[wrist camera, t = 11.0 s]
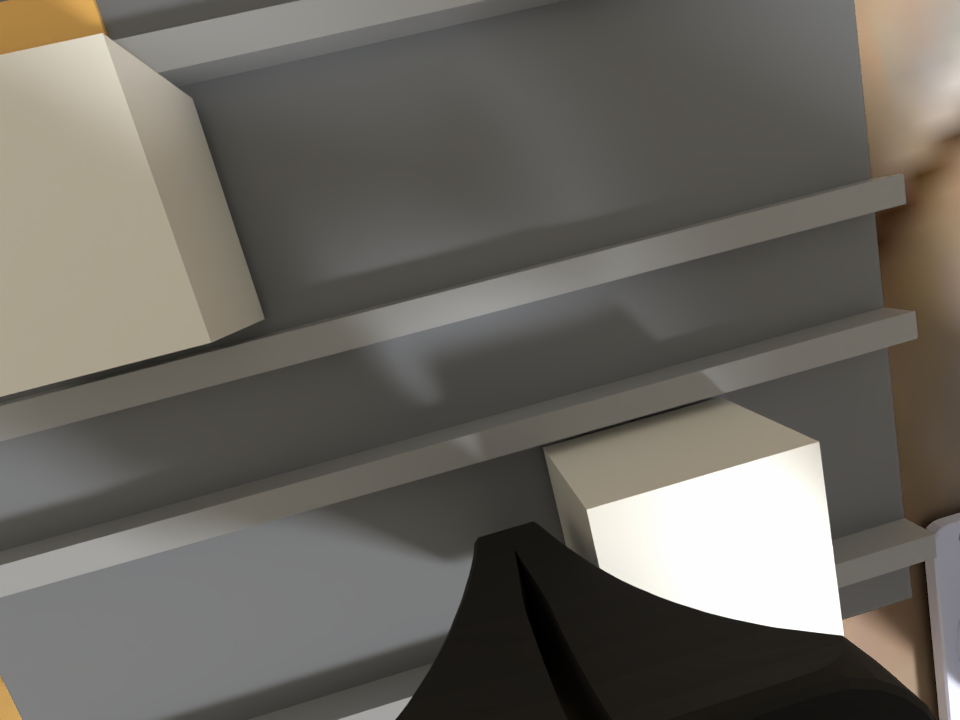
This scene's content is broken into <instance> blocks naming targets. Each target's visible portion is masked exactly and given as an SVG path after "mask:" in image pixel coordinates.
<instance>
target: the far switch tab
mask: <svg viewBox="0 0 960 720" xmlns="http://www.w3.org/2000/svg"><path fill="white" fill-rule="evenodd" d="M543 450H544V454H545V459H546V463H547V467H548V471H549V476H550V480H551V484H552V488H553V492H554V497H555V501H556V505H557V509H558V514H559V518H560V522H561V526H562V531H563V535H564V539H565V543H566V546H567V547H568V548H570V549H571V550H573V551H574V552H575V553H577V554H578V555H580V556H582V557H583V558H585V559H586V560H588V561H589V562H591V563H592V564H594V565H595V566H597V567H599V568H600V569H602V570H604V571H605V572H607V573H609V574H611V575H613V576H614V577H616V578H618V579H620V580H622V581H624V582H626V583H628V584H630V585H633V586H635V587H637V588H640V589H642V590H644V591H647V592H649V593H651V594H654V595H656V596H659V597H661V598H664V599H667V600H670V601H672V602H675V603H678V604H681V605H685V606H688V607H691V608H694V609H698V610H701V611H704V612H707V613H711V614H715V615H719V616H723V617H727V618H731V619H736V620H741V621H746V622H750V623H755V624H760V625H765V626H771V627H777V628H785V629H793V630H801V631H810V632H818V633H826V634H834V635H842V636H844V632H843V624H842V616H841V609H840V601H839V593H838V585H837V577H836V569H835V562H834V554H833V546H832V538H831V530H830V523H829V515H828V507H827V499H826V491H825V484H824V476H823V468H822V460H821V452H820V444H819V441H817V440H814V439H812V438H810V437H808V436H806V435H803V434H801V433H799V432H797V431H795V430H792V429H790V428H788V427H786V426H784V425H781V424H779V423H777V422H775V421H772V420H770V419H768V418H766V417H764V416H761V415H759V414H757V413H755V412H753V411H750V410H748V409H746V408H744V407H742V406H739V405H737V404H735V403H733V402H731V401H728V400H726V399H724V398H722V397H719V398H716V399H712V400H709V401H705V402H702V403H698V404H694V405H691V406H687V407H684V408H680V409H677V410H673V411H670V412H666V413H663V414H659V415H656V416H652V417H648V418H645V419H641V420H638V421H634V422H631V423H627V424H624V425H620V426H617V427H613V428H610V429H606V430H602V431H599V432H595V433H592V434H588V435H585V436H581V437H578V438H574V439H571V440H567V441H564V442H560V443H556V444H553V445H549V446H546V447H543Z"/></svg>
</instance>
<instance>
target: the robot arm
mask: <svg viewBox="0 0 960 720" xmlns="http://www.w3.org/2000/svg"><path fill="white" fill-rule="evenodd" d="M926 530H928V531H930V532H932V533H934V534H935V542H936V554H937V558H933V559H930V560H927V561H925V566H926V577H927V588H928V599H929V610H930V621H931V632H932V643H933V654H934V665H935V676H936V687H937V698H938V709H939V720H960V513H956V514H953V515H950V516H947V517H943V518H940V519H937V520H935V521H933V522H932V523H930V524H929V525H928V526H927V527H926ZM395 720H936V718H935V717H934V715H933V714H932V712H931V711H930V709H929V708H928V706H927V705H926V704H925V703H924V702H923V701H922V700H920V699H919V698H918V697H917V696H916V695H915V694H914V693H912V692H911V691H910V690H909V689H908V688H907V687H906V686H904V685H903V684H902V683H901V682H900V681H899V680H898V679H897V678H896V677H894V676H893V675H892V674H891V673H890V672H889V671H887V670H886V669H885V668H884V667H883V666H881V665H880V664H879V663H878V662H877V661H876V660H874V659H873V658H872V657H870V656H869V655H867V654H866V653H865V652H863V651H862V650H861V649H859V648H858V647H857V646H855V645H854V644H853V643H852V642H850V641H849V640H848V639H846V638H845V637H844V636H842V635H834V634H826V633H818V632H810V631H801V630H793V629H785V628H777V627H771V626H765V625H760V624H755V623H750V622H746V621H741V620H736V619H731V618H727V617H723V616H719V615H715V614H711V613H707V612H704V611H701V610H698V609H694V608H691V607H688V606H685V605H681V604H678V603H675V602H672V601H670V600H667V599H664V598H661V597H659V596H656V595H654V594H651V593H649V592H647V591H644V590H642V589H640V588H637V587H635V586H633V585H630V584H628V583H626V582H624V581H622V580H620V579H618V578H616V577H614V576H613V575H611V574H609V573H607V572H605V571H604V570H602V569H600V568H599V567H597V566H595V565H594V564H592V563H591V562H589V561H588V560H586V559H585V558H583V557H582V556H580V555H578V554H577V553H575V552H574V551H573V550H571V549H570V548H568V547H567V546H566V545H564V544H563V543H561V542H560V541H559V540H557V539H556V538H555V537H554V536H552V535H551V534H550V533H549V532H547V531H546V530H545V529H544V528H543V527H541V526H540V525H539V524H537V523H535V522H534V521H533V522H529V523H526V524H522V525H519V526H516V527H512V528H509V529H505V530H502V531H498V532H495V533H492V534H488V535H485V536H481V537H478V539H477V540H476V542H475V544H474V554H473V560H472V565H471V569H470V573H469V577H468V580H467V583H466V587H465V590H464V593H463V597H462V600H461V602H460V605H459V608H458V610H457V613H456V615H455V618H454V620H453V623H452V625H451V628H450V630H449V632H448V635H447V637H446V639H445V641H444V643H443V645H442V647H441V649H440V651H439V653H438V655H437V657H436V659H435V660H434V662H433V664H432V666H431V668H430V670H429V671H428V673H427V674H426V676H425V678H424V679H423V681H422V682H421V684H420V686H419V687H418V689H417V690H416V692H415V693H414V695H413V696H412V698H411V699H410V701H409V702H408V704H407V705H406V707H405V708H404V709H403V711H402V712H401V713H400V714H399V716H398V717H397V718H396V719H395Z"/></svg>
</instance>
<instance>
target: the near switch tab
mask: <svg viewBox="0 0 960 720" xmlns="http://www.w3.org/2000/svg"><path fill="white" fill-rule="evenodd" d="M264 319H265V318H264V315H263V312H262V309H261V305H260V302H259V299H258V296H257V293H256V290H255V287H254V284H253V281H252V278H251V275H250V272H249V269H248V266H247V263H246V260H245V257H244V254H243V251H242V248H241V245H240V242H239V238H238V235H237V232H236V229H235V226H234V223H233V220H232V217H231V214H230V211H229V208H228V205H227V202H226V199H225V196H224V193H223V190H222V187H221V184H220V181H219V178H218V175H217V171H216V168H215V165H214V162H213V159H212V156H211V153H210V150H209V147H208V144H207V141H206V138H205V135H204V132H203V129H202V126H201V123H200V120H199V117H198V114H197V111H196V108H195V104H194V101H193V99H192V98H191V97H190V96H188V95H187V94H186V93H184V92H183V91H181V90H180V89H179V88H177V87H176V86H175V85H173V84H172V83H170V82H169V81H168V80H166V79H165V78H164V77H162V76H161V75H159V74H158V73H157V72H155V71H154V70H153V69H151V68H150V67H148V66H147V65H146V64H144V63H143V62H142V61H140V60H139V59H137V58H136V57H135V56H133V55H132V54H131V53H129V52H128V51H126V50H125V49H124V48H122V47H121V46H120V45H118V44H117V43H115V42H114V41H113V40H111V39H110V38H109V37H107V36H106V35H104V34H103V33H101V34H96V35H91V36H87V37H82V38H77V39H73V40H68V41H63V42H59V43H54V44H49V45H45V46H40V47H35V48H31V49H26V50H21V51H17V52H12V53H7V54H3V55H0V397H2V396H6V395H9V394H13V393H17V392H21V391H25V390H29V389H33V388H37V387H41V386H44V385H48V384H52V383H56V382H60V381H64V380H68V379H72V378H76V377H79V376H83V375H87V374H91V373H95V372H99V371H103V370H107V369H111V368H114V367H118V366H122V365H126V364H130V363H134V362H138V361H142V360H146V359H149V358H153V357H157V356H161V355H165V354H169V353H173V352H177V351H181V350H185V349H188V348H192V347H196V346H200V345H204V344H208V343H212V342H214V341H216V340H218V339H221V338H223V337H225V336H227V335H230V334H232V333H234V332H237V331H239V330H241V329H243V328H246V327H248V326H250V325H252V324H255V323H257V322H259V321H261V320H264Z"/></svg>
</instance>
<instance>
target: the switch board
mask: <svg viewBox="0 0 960 720" xmlns="http://www.w3.org/2000/svg"><path fill="white" fill-rule="evenodd" d="M101 33H103V34H104V35H106V36H107V37H109V38H110V39H111V40H113V41H114V42H115V43H117V44H118V45H120V46H121V47H122V48H124V49H125V50H126V51H128V52H129V53H131V54H132V55H133V56H135V57H136V58H137V59H139V60H140V61H142V62H143V63H144V64H146V65H147V66H148V67H150V68H151V69H153V70H154V71H155V72H157V73H158V74H159V75H161V76H162V77H164V78H165V79H166V80H168V81H169V82H170V83H172V84H173V85H175V86H176V87H177V88H179V89H180V90H181V91H183V92H184V93H186V94H187V95H188V96H190V97H191V98H192V99H193V101H194V104H195V108H196V111H197V114H198V117H199V120H200V123H201V126H202V129H203V132H204V135H205V138H206V141H207V144H208V147H209V150H210V153H211V156H212V159H213V162H214V165H215V168H216V171H217V175H218V178H219V181H220V184H221V187H222V190H223V193H224V196H225V199H226V202H227V205H228V208H229V211H230V214H231V217H232V220H233V223H234V226H235V229H236V232H237V235H238V238H239V242H240V245H241V248H242V251H243V254H244V257H245V260H246V263H247V266H248V269H249V272H250V275H251V278H252V281H253V284H254V287H255V290H256V293H257V296H258V299H259V302H260V305H261V309H262V312H263V315H264V318H265V319H264V320H261V321H259V322H257V323H255V324H252V325H250V326H248V327H246V328H243V329H241V330H239V331H237V332H234V333H232V334H230V335H227V336H225V337H223V338H221V339H218V340H216V341H214V342H212V343H208V344H204V345H200V346H196V347H192V348H188V349H185V350H181V351H177V352H173V353H169V354H165V355H161V356H157V357H153V358H149V359H146V360H142V361H138V362H134V363H130V364H126V365H122V366H118V367H114V368H111V369H107V370H103V371H99V372H95V373H91V374H87V375H83V376H79V377H76V378H72V379H68V380H64V381H60V382H56V383H52V384H48V385H44V386H41V387H37V388H33V389H29V390H25V391H21V392H17V393H13V394H9V395H6V396H2V397H0V675H1V677H2V679H3V681H4V683H5V685H6V687H7V689H8V691H9V693H10V695H11V697H12V700H13V702H14V704H15V706H16V708H17V710H18V712H19V714H20V716H21V718H22V720H395V719H396V718H397V717H398V716H399V714H400V713H401V712H402V711H403V709H404V708H405V707H406V705H407V704H408V702H409V701H410V699H411V698H412V696H413V695H414V693H415V692H416V690H417V689H418V687H419V686H420V684H421V682H422V681H423V679H424V678H425V676H426V674H427V673H428V671H429V670H430V668H431V666H432V664H433V662H434V660H435V659H436V657H437V655H438V653H439V651H440V649H441V647H442V645H443V643H444V641H445V639H446V637H447V635H448V632H449V630H450V628H451V625H452V623H453V620H454V618H455V615H456V613H457V610H458V608H459V605H460V602H461V600H462V597H463V593H464V590H465V587H466V583H467V580H468V577H469V573H470V569H471V565H472V560H473V554H474V544H475V542H476V540H477V539H478V537H481V536H485V535H488V534H492V533H495V532H498V531H502V530H505V529H509V528H512V527H516V526H519V525H522V524H526V523H529V522H533V521H534V522H535V523H537V524H539V525H540V526H541V527H543V528H544V529H545V530H546V531H547V532H549V533H550V534H551V535H552V536H554V537H555V538H556V539H557V540H559V541H560V542H561V543H563V544H564V545H566V543H565V539H564V535H563V531H562V526H561V522H560V518H559V514H558V509H557V505H556V501H555V497H554V492H553V488H552V484H551V480H550V476H549V471H548V467H547V463H546V459H545V454H544V450H543V447H546V446H549V445H553V444H556V443H560V442H564V441H567V440H571V439H574V438H578V437H581V436H585V435H588V434H592V433H595V432H599V431H602V430H606V429H610V428H613V427H617V426H620V425H624V424H627V423H631V422H634V421H638V420H641V419H645V418H648V417H652V416H656V415H659V414H663V413H666V412H670V411H673V410H677V409H680V408H684V407H687V406H691V405H694V404H698V403H702V402H705V401H709V400H712V399H716V398H719V397H722V398H724V399H726V400H728V401H731V402H733V403H735V404H737V405H739V406H742V407H744V408H746V409H748V410H750V411H753V412H755V413H757V414H759V415H761V416H764V417H766V418H768V419H770V420H772V421H775V422H777V423H779V424H781V425H784V426H786V427H788V428H790V429H792V430H795V431H797V432H799V433H801V434H803V435H806V436H808V437H810V438H812V439H814V440H817V441H819V444H820V452H821V460H822V468H823V476H824V484H825V491H826V499H827V507H828V515H829V523H830V530H831V538H832V546H833V554H834V562H835V569H836V577H837V585H838V593H839V601H840V609H841V616H842V620H844V619H847V618H850V617H853V616H856V615H859V614H862V613H866V612H869V611H872V610H875V609H878V608H881V607H884V606H888V605H891V604H894V603H897V602H900V601H903V600H906V599H910V598H912V589H911V579H910V569H909V566H911V565H914V564H918V563H921V562H924V561H927V560H930V559H933V558H937V554H936V542H935V534H934V533H932V532H930V531H928V530H926V529H924V528H922V527H921V526H919V525H917V524H915V523H913V522H911V521H909V520H907V519H905V517H904V507H903V497H902V487H901V476H900V466H899V456H898V446H897V435H896V425H895V415H894V405H893V394H892V384H891V374H890V364H889V353H888V347H890V346H893V345H897V344H901V343H904V342H908V341H911V340H915V339H918V333H917V321H916V311H913V310H904V309H895V308H886V307H884V302H883V292H882V282H881V271H880V261H879V251H878V240H877V230H876V220H875V212H877V211H880V210H884V209H888V208H892V207H896V206H899V205H903V204H906V193H905V181H904V173H901V174H895V175H889V176H883V177H877V178H871V169H870V158H869V148H868V138H867V128H866V117H865V107H864V97H863V87H862V76H861V66H860V56H859V46H858V35H857V25H856V15H855V5H854V0H0V55H3V54H7V53H12V52H17V51H21V50H26V49H31V48H35V47H40V46H45V45H49V44H54V43H59V42H63V41H68V40H73V39H77V38H82V37H87V36H91V35H96V34H101Z"/></svg>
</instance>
